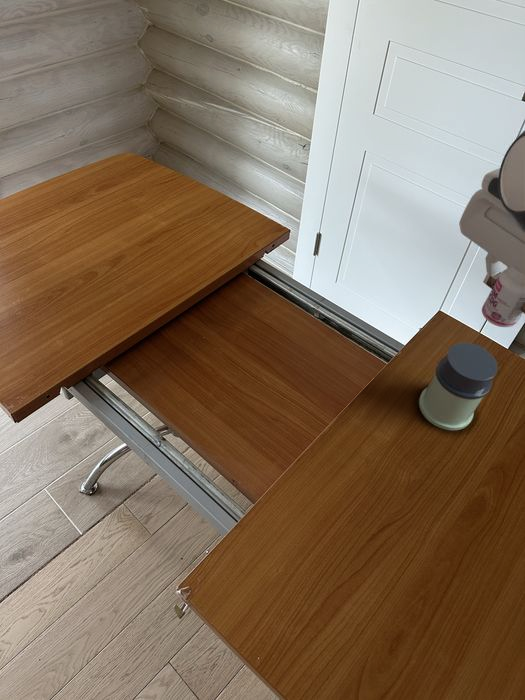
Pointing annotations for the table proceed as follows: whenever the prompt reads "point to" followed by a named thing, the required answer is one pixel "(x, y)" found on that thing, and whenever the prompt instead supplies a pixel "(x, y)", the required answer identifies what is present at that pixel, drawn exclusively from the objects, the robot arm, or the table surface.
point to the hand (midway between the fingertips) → (508, 298)
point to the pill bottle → (506, 299)
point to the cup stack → (458, 386)
